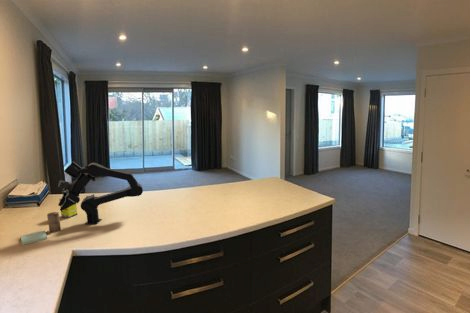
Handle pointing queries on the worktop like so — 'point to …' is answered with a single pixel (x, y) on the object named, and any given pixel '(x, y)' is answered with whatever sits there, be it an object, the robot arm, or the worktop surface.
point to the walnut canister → (54, 222)
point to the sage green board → (33, 237)
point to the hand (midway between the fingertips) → (59, 208)
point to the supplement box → (69, 211)
